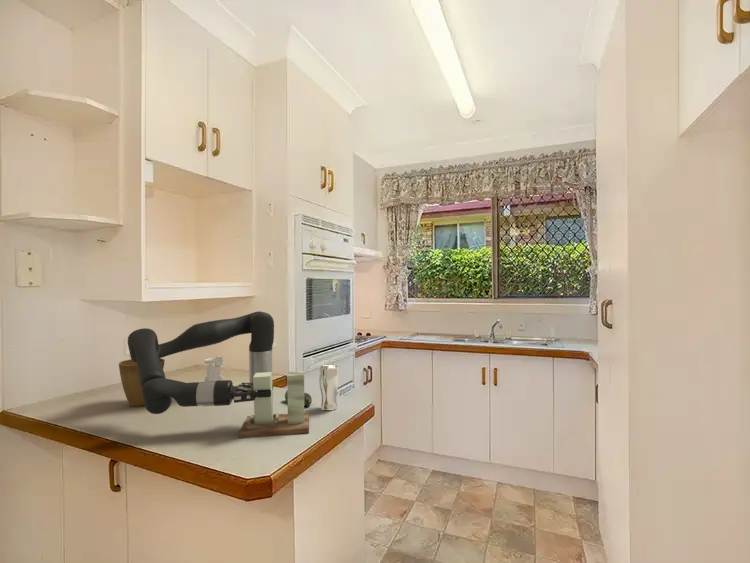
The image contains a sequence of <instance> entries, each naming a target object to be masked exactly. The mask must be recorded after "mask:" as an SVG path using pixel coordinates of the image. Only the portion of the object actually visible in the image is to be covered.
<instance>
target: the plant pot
mask: <svg viewBox="0 0 750 563" xmlns="http://www.w3.org/2000/svg"><path fill="white" fill-rule="evenodd" d="M159 359H160V362H161V365H162V368H163V369H164V367H165V361H166V360H165V359H164V358H163V357H162V358H159ZM118 368H119V369H118V370H119V376H120V381H121V385H122V389H123V392H124V395H125V398H126V400H127V402H128V404H129V406H130V407H143V406H142V405H145V403H144V398H143V394H142V387H141V384H140V380H139V375H138V368H137V362H134V361H132V359H131V358H129V359H126V360H125V359H124V360H121V361H120V362H119V361H118Z"/></svg>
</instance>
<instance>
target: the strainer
mask: <svg viewBox="0 0 750 563" xmlns="http://www.w3.org/2000/svg"><path fill="white" fill-rule="evenodd" d="M204 364H206V376H205V377H204V382H205V381H219V380H224V375H222V366H223V365H224V357H223V356H219V355H217V356H215V357H211V358H205V359H204ZM213 364H214V366H213Z"/></svg>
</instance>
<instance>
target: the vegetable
mask: <svg viewBox="0 0 750 563" xmlns="http://www.w3.org/2000/svg"><path fill="white" fill-rule="evenodd" d="M284 399H285V400H286V401H287V402H288V389H287V390H286V392H285V394H284ZM312 402H313V400H312V396H311V395H310V394H309V393H307V392H304V406H307V407H310V406H311V404H312Z"/></svg>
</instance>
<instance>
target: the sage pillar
mask: <svg viewBox="0 0 750 563" xmlns="http://www.w3.org/2000/svg"><path fill="white" fill-rule="evenodd" d="M272 385H273V371H272V372H263V373H255V375H254V377H253V389H254V390H267V389H270V390H271V396H270V397H262V398H257V399H255V400H254V401H253V411H254V413H253V415H254V416H255V423H270V422H272V421H273V414H274V398H273V397H274V396H273V395H274V392H273V391H274V389H273V390H272Z"/></svg>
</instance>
